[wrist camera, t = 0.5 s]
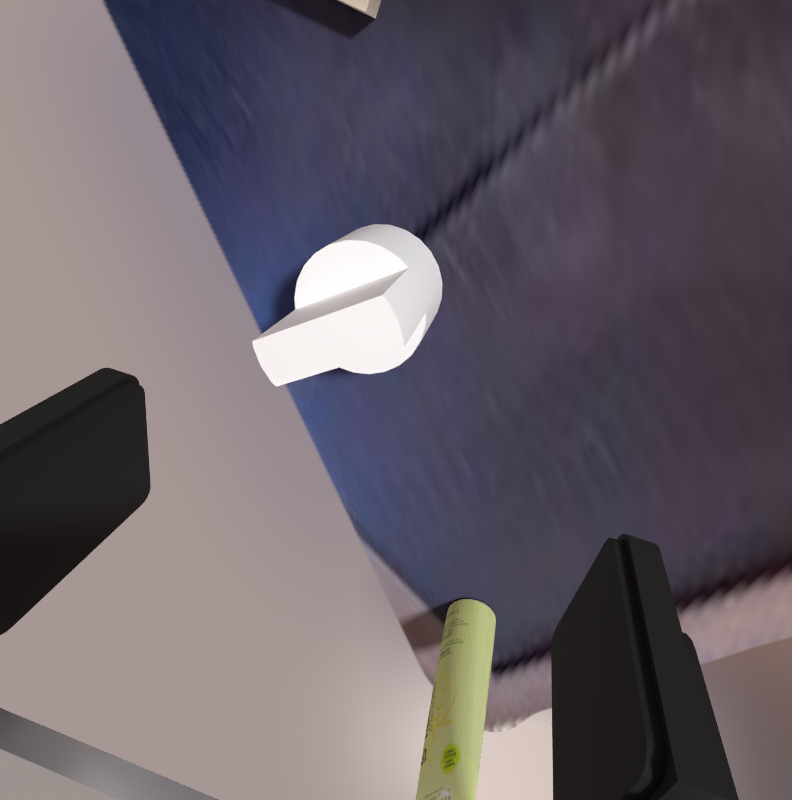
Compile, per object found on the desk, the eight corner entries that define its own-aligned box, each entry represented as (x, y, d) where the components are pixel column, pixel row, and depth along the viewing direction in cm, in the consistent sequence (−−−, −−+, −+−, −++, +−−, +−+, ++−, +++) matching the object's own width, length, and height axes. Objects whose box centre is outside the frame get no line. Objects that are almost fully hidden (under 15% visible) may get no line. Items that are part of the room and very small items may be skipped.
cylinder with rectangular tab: (416, 204, 35) (363, 235, 25) (459, 323, 38) (428, 395, 28) (307, 249, 39) (222, 293, 29) (355, 355, 42) (294, 430, 32)
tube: (443, 590, 52) (396, 812, 35) (494, 594, 50) (470, 828, 33) (450, 629, 54) (408, 855, 37) (499, 634, 53) (478, 871, 36)
